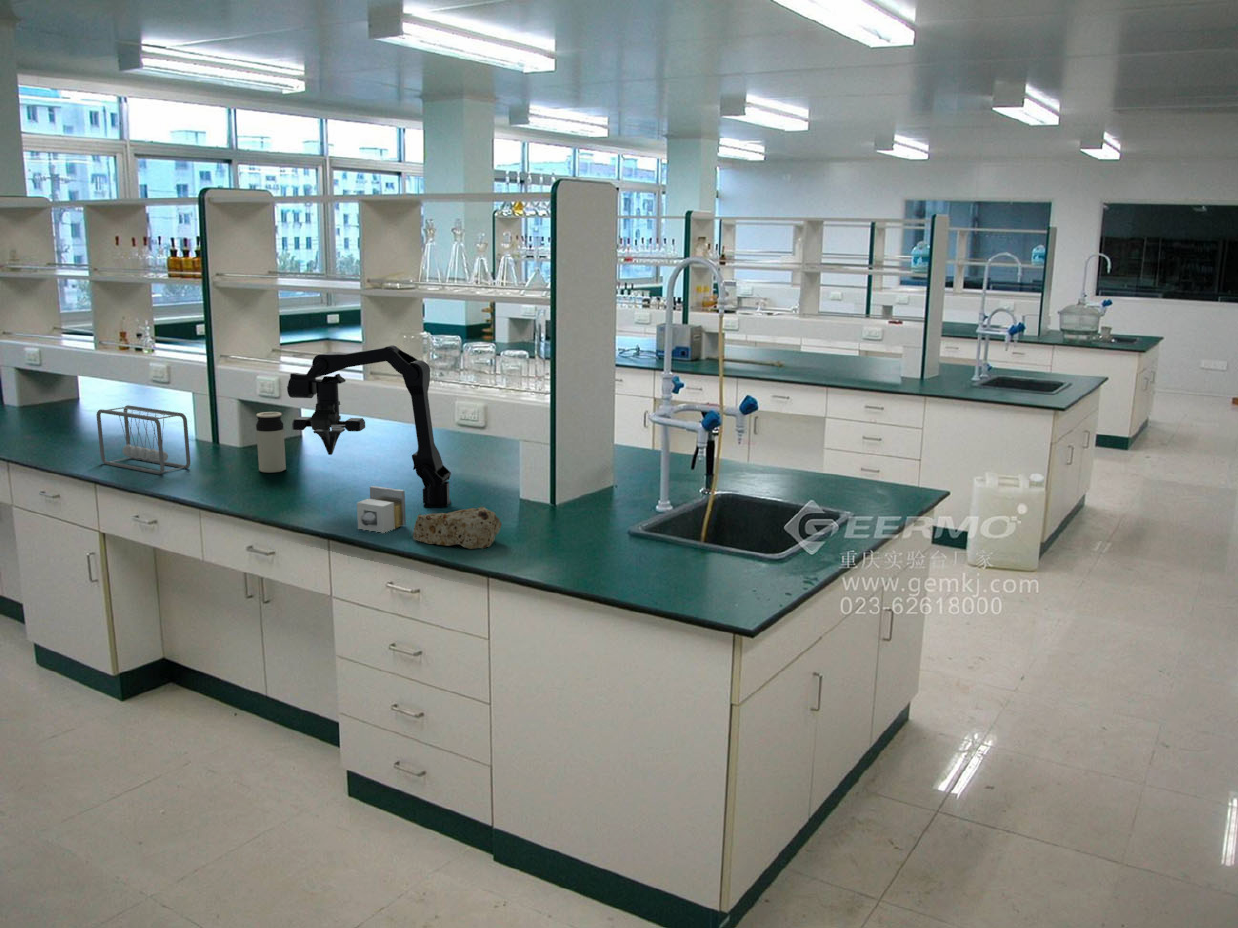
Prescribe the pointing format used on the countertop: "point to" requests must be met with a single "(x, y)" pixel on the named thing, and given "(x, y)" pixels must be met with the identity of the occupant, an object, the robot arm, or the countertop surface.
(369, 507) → the block
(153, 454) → the newton's cradle
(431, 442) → the robot arm
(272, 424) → the travel mug
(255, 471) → the countertop surface
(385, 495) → the grey piece
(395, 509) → the spacer
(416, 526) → the rock
